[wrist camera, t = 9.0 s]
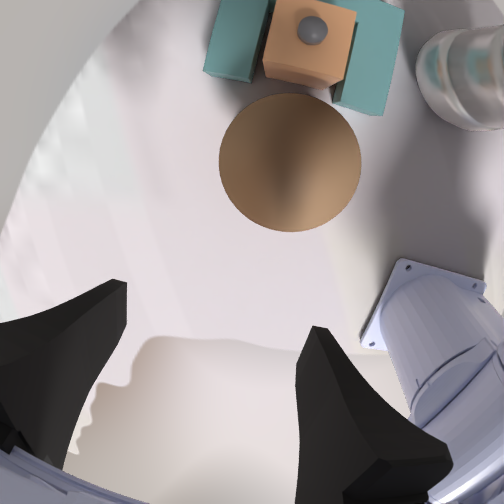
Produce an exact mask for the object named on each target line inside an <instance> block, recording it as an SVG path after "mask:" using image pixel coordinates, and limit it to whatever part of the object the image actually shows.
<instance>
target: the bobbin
mask: <svg viewBox="0 0 504 504" xmlns="http://www.w3.org/2000/svg"><path fill="white" fill-rule="evenodd" d="M219 171H220V177H221V181H222V184H223V187H224V189H225V191H226V193H227V195H228V197H229V198H230V200H231V202H232V203H233V204H234V205H235V207H236V208H237V209H238V210H239V211H240V212H241V213H242V214H243V215H245V216H246V217H247V218H248V219H250V220H251V221H253V222H255V223H256V224H259V225H261V226H263V227H265V228H269V229H272V230H276V231H282V232H299V231H305V230H310V229H313V228H316V227H318V226H321V225H323V224H325V223H327V222H328V221H330V220H331V219H333V218H334V217H335V216H336V215H338V214H339V213H340V212H341V211H342V210H343V209H344V208H345V207H346V205H347V204H348V203H349V201H350V200H351V198H352V196H353V194H354V193H355V190H356V188H357V185H358V182H359V178H360V173H361V154H360V148H359V144H358V141H357V138H356V136H355V134H354V132H353V130H352V128H351V127H350V125H349V124H348V122H347V121H346V120H345V118H344V117H343V116H342V115H341V114H340V113H339V112H338V111H337V110H335V109H334V108H333V107H331V106H330V105H329V104H327V103H325V102H323V101H321V100H319V99H317V98H314V97H311V96H308V95H304V94H298V93H281V94H275V95H270V96H267V97H264V98H262V99H259V100H257V101H255V102H253V103H252V104H250V105H249V106H247V107H246V108H245V109H243V110H242V111H241V112H240V113H239V114H238V115H237V116H236V117H235V119H234V120H233V121H232V122H231V124H230V125H229V127H228V129H227V130H226V133H225V135H224V137H223V140H222V143H221V147H220V153H219Z"/></svg>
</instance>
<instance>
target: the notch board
mask: <svg viewBox="0 0 504 504" xmlns="http://www.w3.org/2000/svg"><path fill="white" fill-rule="evenodd" d="M276 1H277V0H221V3H220V6H219V10H218V14H217V17H216V21H215V24H214V28H213V32H212V36H211V39H210V43H209V47H208V51H207V55H206V59H205V63H204V68H203V71H204V72H206V73H207V74H209V75H210V76H214V77H220V78H226V79H232V80H237V81H243V82H248V83H252V79H253V75H254V71H255V67H256V63H257V59H258V55H259V51H260V47H261V43H262V39H263V35H264V31H265V27H266V23H267V20H268V16H269V12H271V13H274V9H275V5H276ZM317 1H321V2H324V3H328V4H332V5H335V6H339V7H342V8H346V9H349V10H352V11H355V12H357V14H356V19H355V24H354V29H353V34H352V39H351V44H350V49H349V54H348V59H347V63H346V68H345V73H344V77H343V80H341V81H339V82H337V86H336V90H335V94H334V98H333V102H332V103H333V104H336V105H339V106H343V107H346V108H349V109H352V110H355V111H358V112H361V113H364V114H367V115H370V116H383V112H384V108H385V104H386V100H387V96H388V92H389V87H390V83H391V79H392V74H393V70H394V65H395V60H396V55H397V51H398V46H399V40H400V35H401V30H402V24H403V18H404V12H405V11H404V10H402V9H400V8H397V7H395V6H392V5H390V4H388V3H385V2H382V1H380V0H317Z"/></svg>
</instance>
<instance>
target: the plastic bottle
mask: <svg viewBox="0 0 504 504" xmlns="http://www.w3.org/2000/svg"><path fill="white" fill-rule="evenodd" d="M416 77H417V82H418V86H419V88H420V91H421V94H422V95H423V97H424V99H425V101H426V102H427V104H428V105H429V106H430V108H431V109H432V110H433V111H434V112H435V113H436V114H437V115H438V116H439V117H441V118H442V119H443V120H445V121H447V122H449V123H451V124H453V125H455V126H457V127H459V128H462V129H464V130H468V131H492V130H497V129H504V25H500V26H492V27H484V28H477V29H454V30H446V31H442V32H440V33H437V34H436V35H434V36H433V37H432V38H431V39H430V40H428V41H427V42H426V43H425V44H424V45H423V47H422V48H421V49H420V51H419V54H418V56H417V61H416Z"/></svg>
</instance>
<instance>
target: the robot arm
mask: <svg viewBox="0 0 504 504" xmlns="http://www.w3.org/2000/svg"><path fill="white" fill-rule="evenodd" d="M408 265H410V267H409V268H408V269H406V267H407V266H408ZM474 283H475V284H474ZM473 284H474V286H473ZM486 287H487V285H486V283H485V282H484V281H482V280H479V279H475V278H472V277H469V276H465V275H462V274H458V273H455V272H451V271H448V270H444V269H441V268H437V267H433V266H430V265H426V264H423V263H419V262H415V261H412V260H408V259H404V258H401V259H399V260H398V261H397V262H396V264H395V266H394V269H393V271H392V274H391V276H390V278H389V280H388V283H387V285H386V287H385V290H384V292H383V294H382V296H381V298H380V301H379V303H378V305H377V307H376V309H375V311H374V313H373V315H372V318H371V320H370V322H369V324H368V326H367V328H366V330H365V332H364V334H363V336H362V338H361V340H360V344H361V346H362V347H364V348H371V349H377V350H384V351H388V352H389V355H390V358H391V360H392V363H393V365H394V368H395V370H396V373H397V376H398V379H399V381H400V384H401V387H402V389H403V392H404V395H405V398H406V400H407V403H408V406H409V409H410V412H411V414H410V417H409V418H408V419H406V418H405V417H403V416H402V415H401V414H400V413H399V412H397V411H396V410H395V409H394V408H393V407H391V406H390V405H389V404H388V403H387V402H386V401H385V400H384V399H383V398H382V397H381V396H380V395H379V394H378V393H377V392H376V391H375V390H374V389H373V388H372V387H371V386H370V385H369V384H368V382H367V381H366V380H365V379H364V378H363V377H362V375H361V374H360V373H359V371H358V370H357V369H356V368H355V366H354V365H353V364H352V362H351V361H350V360H349V358H348V357H347V355H346V354H345V353H344V351H343V350H342V348H341V347H340V345H339V344H338V342H337V341H336V340H335V338H334V337H333V335H332V334H331V332H330V331H329V330H328V328H323V327H317V326H312V328H311V330H310V333H309V335H308V338H307V340H306V343H305V345H304V347H303V350H302V352H301V354H300V357H299V359H298V361H297V364H296V384H295V387H296V399H297V411H298V422H299V435H300V448H299V449H300V450H299V466H298V480H297V489H296V497H295V504H504V318H503V317H502V316H501V315H500V314H499V313H498V311H497V310H496V309H495V308H494V307H493V306H492V305H491V303H490V302H489V301H488V300H487V299H486V298H485V297H484V296H483V293H484V291H485V289H486ZM126 324H127V282H123V281H119V280H116V279H111V280H109V281H107V282H105V283H103V284H101V285H99V286H97V287H95V288H93V289H91V290H89V291H87V292H85V293H83V294H81V295H79V296H77V297H75V298H73V299H71V300H69V301H67V302H65V303H62V304H60V305H58V306H56V307H53V308H51V309H49V310H46V311H43V312H40V313H37V314H34V315H31V316H28V317H24V318H20V319H17V320H13V321H9V322H3V323H0V504H149V503H146V502H142V501H139V500H136V499H133V498H129V497H127V496H123V495H121V494H117V493H115V492H112V491H109V490H107V489H104V488H101V487H99V486H96V485H94V484H91V483H89V482H86V481H84V480H82V479H79V478H77V477H75V476H73V475H70V474H68V473H66V472H64V471H62V469H63V465H64V461H65V457H66V454H67V450H68V447H69V443H70V440H71V437H72V434H73V431H74V428H75V425H76V423H77V420H78V417H79V415H80V412H81V410H82V407H83V405H84V403H85V400H86V398H87V396H88V393H89V391H90V389H91V388H92V386H93V384H94V382H95V380H96V379H97V377H98V376H99V374H100V372H101V371H102V369H103V367H104V366H105V364H106V363H107V361H108V359H109V358H110V356H111V354H112V353H113V351H114V350H115V348H116V346H117V345H118V342H119V340H120V338H121V336H122V334H123V331H124V329H125V327H126ZM370 342H373V343H370Z"/></svg>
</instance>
